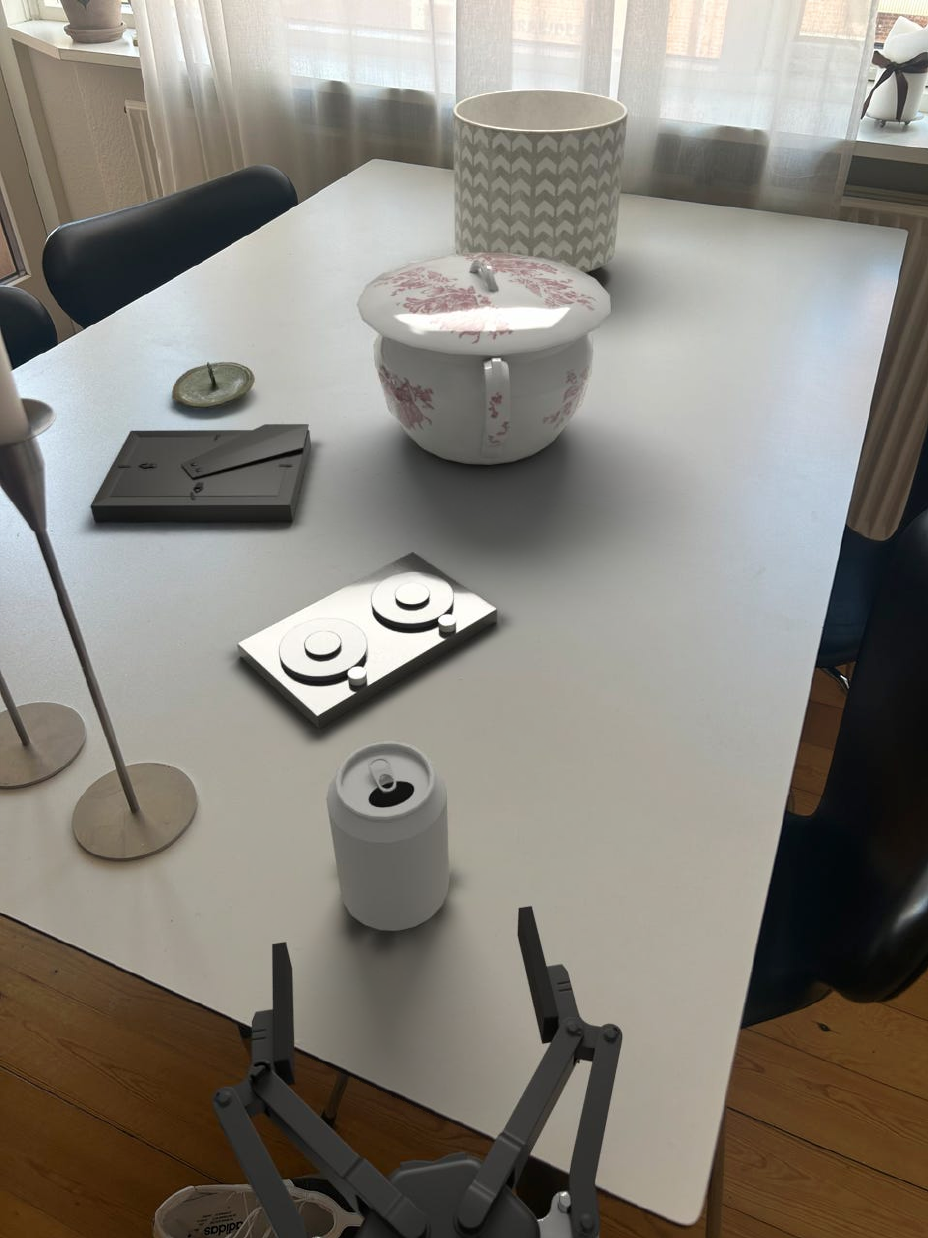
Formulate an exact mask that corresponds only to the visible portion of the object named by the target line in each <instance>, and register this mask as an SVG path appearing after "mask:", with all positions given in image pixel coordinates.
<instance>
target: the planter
mask: <svg viewBox="0 0 928 1238" xmlns="http://www.w3.org/2000/svg"><path fill="white" fill-rule="evenodd" d="M628 113H629V111H628V107H626V105H625V104H624V103H622V102H621V101H619V100H616V99H614V98H612V97H608V96H605V95H601V94H596V93H591V92H586V91H579V90H578V91H577V90H570V89H569V90H568V89H555V88H553V89H552V88H525V89H522V88H521V89H509V90H498V91H492V92H486V93H481V94H476V95H473V96H470V97H467V98H464V99H462V100H460V101H459V102H457V103H456V104H455V105H454V107H453V110H452V119H453V120H452V122H453V125H452V126H453V128H452V130H453V131H452V132H453V196H454V197H453V199H454V200H453V201H454V202H453V204H454V250H455V251H454V252H455V254H464V253H511V254H517V255H524V256H531V257H538V258H545V259H548V260H551V261H555V262H558V263H562V264H565V265H568V266H572V267H574V268H576V269H578V270H580V271H582V272H584V273H589V272H591V271H595V270H597V269H598V268H602V267H603V266H605V265H606V264H608V263H609V262H610V261H611V260H612V259H613V257H614V255H615V253H616V243H617V233H618V231H617V230H618V221H619V211H620V200H621V190H622V178H623V167H624V154H625V145H626V134H627V125H628Z"/></svg>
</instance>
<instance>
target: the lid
mask: <svg viewBox="0 0 928 1238" xmlns="http://www.w3.org/2000/svg"><path fill="white" fill-rule="evenodd" d="M255 379H256V377H255V375H254V372H253V371H252V370H251V369H250V368H249V367H247V366H245V365H243V364H241V363H237V362H234V361H233V362H232V361H230V362H229V361H219V362H213V363H210V362H209V361H208V362H207V363H206V364H203V365H200V366H196V367H193V368H190V369H188V370H187V371H185V372H184V373H182V374H181V376H179V377H178V378H177V379H176V380H175V383H174V384H173V386H172V392H171V394H172V396H171V397H172V399H173V401H174V402H175V403H176V404H178V405H181V406H183V407H185V408H189V409H191V408H192V409H212V408H218V407H221V406H225V405H228V404H230V403H232V402H235V401H236V400H238V399H240V398H241V397H243V396H244V395H245V394H247V393H248V392H249V391H250V390H251V389H252V387H253V386H254V383H255Z"/></svg>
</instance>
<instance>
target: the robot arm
mask: <svg viewBox="0 0 928 1238" xmlns="http://www.w3.org/2000/svg"><path fill="white" fill-rule="evenodd" d="M537 925H538V924H537V921H536V917H535V914H534V910H533V906H532V905H529V906H522V907H518V913H517V933H516V935H517V939H518V944H519V947H520V953H521V957H522V962H523V967H524V970H525V974H526V979H527V983H528V988H529V992H530V996H531V1000H532V1006H533V1010H534V1015H535V1019H536V1023H537V1027H538V1032H539V1037H540V1040H541V1045H544V1044H549V1046H548V1047H547V1049H546V1051H545V1053H544V1054H543V1056H542V1058H541V1059H540V1062H539V1064H538V1066H537V1068H536V1069H535V1071H534V1073H533V1075H532V1076H531V1078H530V1080H529V1082H528V1084H527V1085H526V1088H525V1089H524V1091H523V1093H522V1095H521V1097H520V1098H519V1101H518V1102H517V1104H516V1106H515V1108H514V1110H513V1111H512V1113H511V1115H510V1117H509V1118H508V1120H507V1122H506V1124H505V1126H504V1128H503V1129H502V1131H501V1132H499V1134H498V1135H497V1136H496V1138H495V1140H494V1142H493V1143H492V1145H491V1147H490V1149H489V1151H488V1153H487V1154H486V1155H485V1156H486V1157H485V1158H484V1160H482V1159H480V1158H479V1157H476V1156H474V1155H468V1151H467V1150H463V1151H457V1152H453V1153H449V1154H447V1155H445V1156H443V1157H440V1158H438V1159H436V1160H434V1161H431V1160H423V1159H422V1160H421V1159H412V1160H407V1161H401V1162H399V1167H398V1168H396V1169H394V1170H392V1171H391V1172H390V1173H389V1174H388V1175H387V1177H386V1176H384V1175H383V1174H382V1173H381V1172H380V1171H379V1169H377V1168H376V1167H375V1166H374V1165H373V1164H372V1163H371V1162H370V1161H369V1160H368V1159H367V1158H366V1157H364V1156H361V1155H359V1154H358V1153H357V1151H355V1150H354V1149H353V1148H352V1147H351V1146H350V1145H349V1144H348V1143H347V1142H346V1141H345V1139H343V1138H342V1137H341V1136H340V1135H339V1134H338V1133H337V1132H336V1131H335V1130H334V1129H333V1128H331V1126H330V1125H329V1124H328V1123H327V1122H326V1121H325V1120H324V1119H322V1118H321V1116H320V1115H319V1114H317V1113H316V1111H314V1109H312V1108H311V1106H309V1104H308V1103H306V1102H305V1101H304V1100H303V1098H301V1097H300V1096H299V1095H298V1094H297V1093H296V1092H295V1091H294V1090H293V1089H292V1088H291V1086H294V1085H296V1065H295V1064H296V1062H295V1061H296V1059H295V1058H296V1055H295V1054H296V1053H295V1022H294V1021H295V1018H294V1017H295V1015H294V981H293V980H294V979H293V977H294V976H293V966H292V961H291V957H290V953H289V948H288V943H287V942H286V941H284V942H275V943H271V966H272V967H271V969H272V970H271V971H272V972H271V973H272V974H271V976H272V977H271V978H272V986H271V987H272V988H271V989H272V1008H270V1009H265V1010H264V1009H263V1010H258V1011H255V1012H254V1015H253V1017H252V1020H251V1055H250V1056H251V1057H250V1058H251V1059H250V1061H251V1063H250V1066H249V1067H248V1068H247V1073H246V1074H247V1077H246V1078H245V1079H244V1080H242V1081H241V1082H239V1083H237V1084H236V1085H234V1086H229V1085H226V1086H225V1085H224V1086H221V1087H219V1088H218V1089H216V1090H215V1091H214V1092H213V1095H212V1096H211V1105H212V1108H213V1111H214V1114H215V1116H216V1118H217V1121H218V1123H219V1126H220V1128H221V1130H222V1133H223V1135H224V1136H225V1138H226V1140H227V1142H228V1144H229V1146H230V1148H231V1150H232V1152H233V1154H234V1156H235V1158H236V1160H237V1162H238V1164H239V1166H240V1168H241V1170H242V1172H243V1174H244V1176H245V1178H246V1180H247V1182H248V1185H249V1186H250V1188H251V1190H252V1192H253V1194H254V1196H255V1198H256V1200H257V1202H258V1204H259V1206H260V1208H261V1210H262V1212H263V1214H264V1216H265V1218H266V1221H267V1223H268V1224H269V1226H270V1228H271V1230H272V1232H273V1234H274V1236H275V1238H310V1237H309V1234H308V1231H307V1228H306V1225H305V1222H304V1219H303V1217H302V1215H301V1212H300V1210H299V1209H298V1206H297V1205H296V1203H295V1200H294V1199H293V1197H292V1195H291V1193H290V1191H289V1190H288V1188H287V1186H286V1184H285V1182H284V1180H283V1178H282V1177H281V1175H280V1172H279V1171H278V1169H277V1167H276V1165H275V1163H274V1161H273V1158H272V1157H271V1156H270V1153H269V1152H268V1149H267V1147H266V1145H265V1144H264V1142H263V1141H262V1139H261V1136H260V1135H259V1132H258V1131H257V1129H256V1126H255V1125H254V1123H253V1121H252V1120H251V1119H253V1118H256V1117H257V1116H259V1115H261V1114H262V1115H264V1116H265V1118H267V1119H268V1120H269V1122H270V1123H271V1124H272V1125H274V1127H275V1128H276V1129H277V1130H278V1131H279V1132H280V1133H281V1134H282V1135H283V1136H284V1137H285V1138H286V1139H287V1140H288V1141H289V1142H290V1143H291V1144H292V1145H293V1146H294V1147H295V1149H297V1150H298V1151H299V1152H300V1154H301V1155H303V1156H304V1158H305V1159H306V1160H307V1161H308V1162H310V1164H311V1165H312V1166H313V1167H314V1168H315V1169H316V1170H317V1171H318V1172H319V1173H320V1174H321V1175H322V1176H323V1177H324V1178H325V1179H326V1180H327V1181H328V1182H329V1183H330V1184H331V1185H332V1186H333V1187H334V1188H335V1189H336V1190H337V1191H338V1192H339V1193H340V1195H342V1197H343V1198H344V1199H345V1200H346V1201H347V1203H348V1205H349V1207H351V1208H352V1209H353V1211H354V1212H355V1213H356V1214H357V1215H358V1216H359V1217H360V1218H361V1219H362V1222H361V1224H360V1225H359V1228H358V1230H357V1232H356V1234H355V1236H354V1237H353V1238H600V1234H601V1228H602V1227H601V1226H602V1222H601V1216H600V1207H599V1200H598V1193H597V1184H596V1179H597V1173H598V1168H599V1163H600V1158H601V1152H602V1148H603V1141H604V1138H605V1131H606V1127H607V1121H608V1116H609V1111H610V1106H611V1101H612V1095H613V1090H614V1084H615V1080H616V1075H617V1074H616V1073H617V1071H618V1070H617V1069H618V1063H619V1059H620V1053H621V1048H622V1044H623V1032H622V1030H621V1028H620V1027H619V1026H618V1025H616V1024H614V1023H606V1024H603V1025H602V1026H598V1025H594V1024H589V1023H588V1022H586V1021H584V1020H583V1018H582V1017H581V1015H580V1013H579V1008H578V1005H577V1000H576V996H575V993H574V990H573V985H572V983H571V978H570V974H569V972H568V971H569V970H567V969H566V967H565V966H564V964H563V963H559V964H553V965H548V966H547V962H546V958H545V954H544V949H543V945H542V942H541V937H540V934H539V929H538V926H537ZM581 1061H583V1062H591V1066H590V1070H589V1076H588V1080H587V1086H586V1090H585V1095H584V1100H583V1103H582V1109H581V1114H580V1118H579V1122H578V1123H579V1124H578V1128H577V1133H576V1137H575V1142H574V1147H573V1152H572V1155H571V1160H570V1165H569V1172H568V1173H569V1174H568V1180H567V1187H566V1190H562V1191H558V1192H557V1193H555V1194H554V1196H553V1197H552V1199H551V1204H550V1209H549V1212H548V1213H547V1215H546V1216H544V1217H542V1218H537V1217H536V1215H535V1213H534V1212H533V1211H532V1210H531V1209H530V1208H529V1206H527V1205H526V1204H525V1203H524V1201H522V1199H521V1198H520V1197H519V1196H518V1195H517V1194H516V1193H515V1192H514V1190H515V1188H516V1186H517V1184H518V1182H519V1180H520V1177H521V1176H522V1172H523V1170H524V1167H525V1166H526V1163H527V1161H528V1159H529V1157H530V1155H531V1153H532V1151H533V1150H534V1147H535V1145H536V1143H537V1142H538V1139H539V1138H540V1136H541V1134H542V1132H543V1130H544V1128H545V1126H546V1125H547V1123H548V1120H549V1118H550V1116H551V1114H552V1112H553V1110H554V1108H555V1107H556V1106H557V1103H558V1101H559V1099H560V1097H561V1095H562V1093H563V1091H564V1089H565V1087H566V1086H567V1083H568V1082H569V1080H570V1078H571V1076H572V1074H573V1072H574V1070H575V1068H576V1066H577V1064H580V1063H581ZM311 1238H323V1237H322V1236H312V1237H311Z"/></svg>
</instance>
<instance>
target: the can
mask: <svg viewBox="0 0 928 1238" xmlns="http://www.w3.org/2000/svg"><path fill="white" fill-rule="evenodd" d="M338 766H339V767H337V770H336V771H335V775H333V778H332V779H331V781H330V782H329V783H328V789H327V792H326V799H325V800H326V806H327V814H328V819H329V825H330V831H331V837H332V838H331V839H332V844H333V845H332V846H333V853H334V858H335V864H336V871H337V878H338V884H339V885H338V886H339V890H340V895H341V900H342V903H343V905H344V906H345V908H346V909H347V911H348V912H349V914H350V915H351V916H352V917H353V918H355V919H356V920H357V921H358V922H359V923H361V924H363V925H364V926H366V927H369V928H373V929H375V930H379V931H393V932H399V931H402V930H407V929H411V928H415V927H418V925H421V924H422V923H424V922H426V921H428V920H430V919H431V918H432V917H433V916H434V915H435V914H436V913H437V912H438V911H439V910H440V908H442V906H443V904H444V902H445V900H446V897H447V895H448V894H449V888H450V887H449V885H450V857H449V826H448V825H449V822H448V789H447V785H446V783H445V779H444V776H443V773H441V771H440V770H439V769H438V767H437V766H436V765H435V764H434V763H433V760H431V759H430V758H429V756H428V755H427V754H426V753H425V752H424V751H422V749H421V750H420V749H419V748H417V747H416V746H415V745H413V744H410V743H409V744H408V743H405V742H401V741H397V740H396V741H395V740H393V741H392V740H381V741H378V742H377V741H376V742H371V743H367V744H365V745H363V746H361V747H359V748H356V749H354V750H353V751H352V752H351V753H349V755H347V756H346V757H344V759H343V760H342V762H341V763H340V765H338Z"/></svg>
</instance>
